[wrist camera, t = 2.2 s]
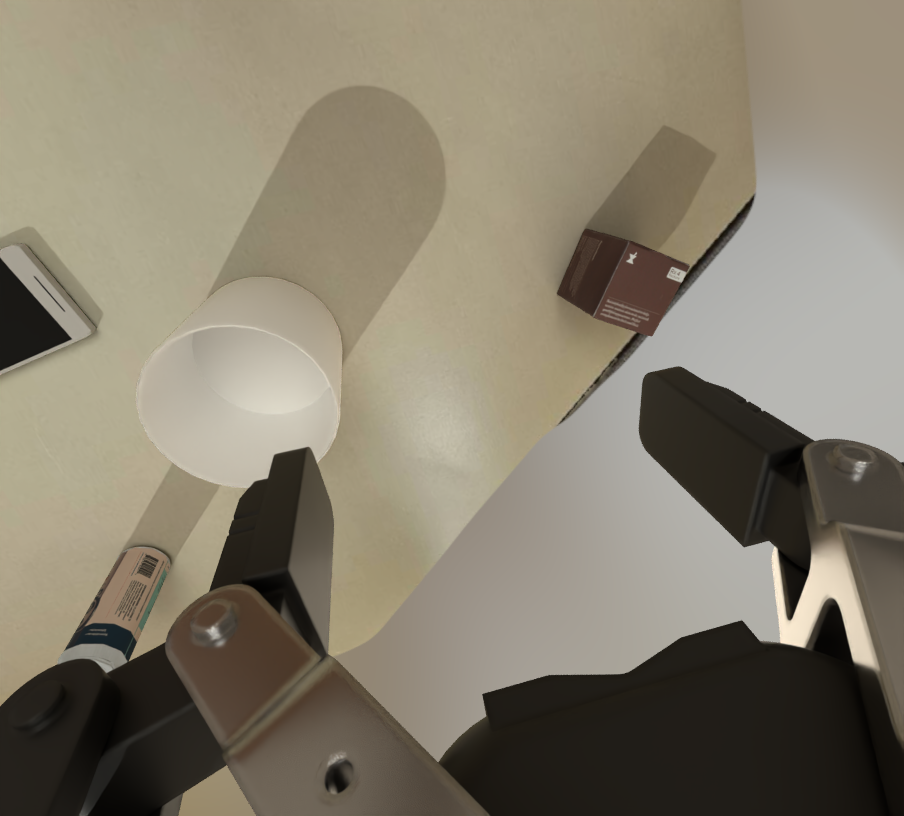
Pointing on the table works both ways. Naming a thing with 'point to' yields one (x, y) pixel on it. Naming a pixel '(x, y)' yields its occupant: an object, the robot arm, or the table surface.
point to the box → (621, 281)
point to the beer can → (119, 609)
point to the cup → (244, 382)
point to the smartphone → (34, 310)
